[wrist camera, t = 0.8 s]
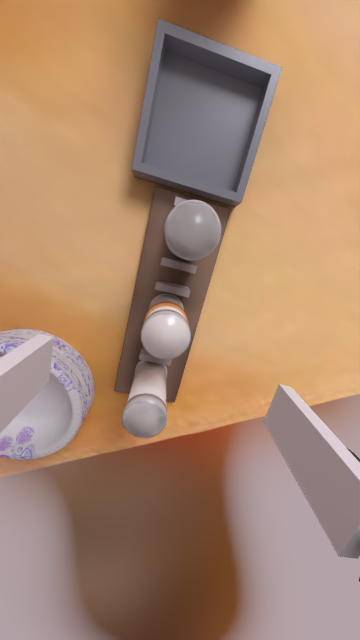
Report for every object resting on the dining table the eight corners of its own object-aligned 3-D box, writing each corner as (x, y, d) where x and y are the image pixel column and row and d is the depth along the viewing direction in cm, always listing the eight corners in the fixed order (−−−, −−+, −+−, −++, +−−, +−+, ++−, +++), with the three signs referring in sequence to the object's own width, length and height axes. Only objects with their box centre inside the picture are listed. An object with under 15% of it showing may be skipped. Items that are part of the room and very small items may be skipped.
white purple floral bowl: (1, 417, 34) (-47, 466, 26) (-23, 319, 29) (-90, 343, 22) (105, 415, 34) (88, 462, 27) (97, 320, 30) (73, 343, 23)
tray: (135, 176, 26) (131, 168, 23) (159, 43, 22) (158, 18, 20) (234, 207, 27) (241, 202, 25) (270, 85, 24) (282, 67, 21)
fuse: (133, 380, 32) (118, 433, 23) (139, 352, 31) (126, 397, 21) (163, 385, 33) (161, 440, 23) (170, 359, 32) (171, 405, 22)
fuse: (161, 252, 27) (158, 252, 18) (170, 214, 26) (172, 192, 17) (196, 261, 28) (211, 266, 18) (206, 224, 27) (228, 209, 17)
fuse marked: (145, 321, 30) (135, 354, 20) (153, 288, 29) (146, 306, 19) (178, 329, 30) (184, 364, 21) (187, 296, 29) (197, 318, 20)
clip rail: (115, 388, 33) (108, 404, 30) (155, 188, 26) (154, 178, 23) (174, 399, 34) (175, 416, 31) (229, 210, 27) (238, 204, 24)
